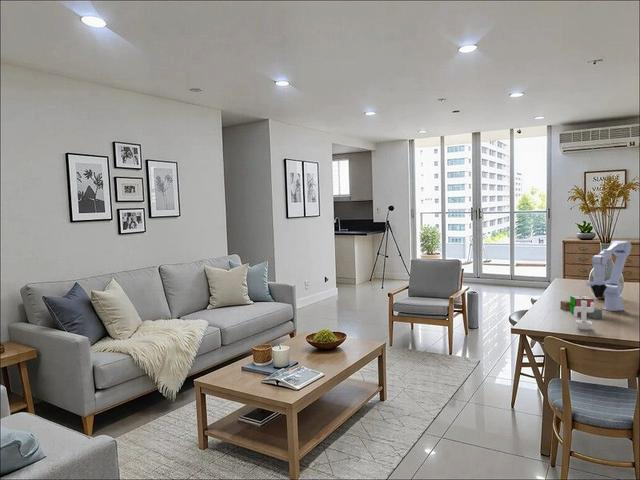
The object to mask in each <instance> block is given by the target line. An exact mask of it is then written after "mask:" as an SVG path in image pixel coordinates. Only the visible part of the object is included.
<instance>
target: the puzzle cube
mask: <svg viewBox="0 0 640 480" xmlns="http://www.w3.org/2000/svg"><path fill="white" fill-rule="evenodd" d="M569 298H570V299H569V301H570V310H569V312H571V313H572V314H573V315H574V307H581V301H587V307H590V306H591V302H594V301H595V300H594V298H592V297H590V296H588V295H570V297H569ZM594 303H595V302H594ZM577 316H581V312H577ZM586 316H588V312H587V315H586Z"/></svg>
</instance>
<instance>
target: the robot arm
mask: <svg viewBox="0 0 640 480" xmlns="http://www.w3.org/2000/svg"><path fill="white" fill-rule="evenodd" d="M631 251H632V243H631V241H629V240H628V241H627V240H612V241H611V242H610V246H609V247H608V248H606V249H605V248H604V249H602V250H601V251H600V252H599V253H598V254H595V255H593V256H592V258H591V264H592V268H593V281H589V282H586V286H587V287H591V289H592V291H593V294H594V297H595V298H596V299H597V298H598V299H599V298H603V296H604V307H601V310H606V311H609V312H615V311H625V309H624V298H623V296H622V293H623V284H622V282H621V281H620V280H621V276H622V273H623V271H624V268H625V267H624V266H625V265H626V264H625V263H626V261H627V257H629V256H630V255H631ZM613 255H614V256H616V259H615V262H614V265H613V268H612V271H611V274H610V277H609V279H607V280H605V275H606V274H605V268H606V267H605V265H607V262H608V261H609V259H610V258H611V257H612V256H613Z"/></svg>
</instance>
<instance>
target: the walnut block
mask: <svg viewBox="0 0 640 480" xmlns="http://www.w3.org/2000/svg"><path fill="white" fill-rule="evenodd" d="M560 309H561V310H563V311H570V300H560Z"/></svg>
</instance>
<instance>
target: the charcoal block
mask: <svg viewBox="0 0 640 480" xmlns="http://www.w3.org/2000/svg"><path fill="white" fill-rule="evenodd" d="M587 317H588V318H590V319H591V318H592V319H593V320H595V319H602V318H603V309H602V308H601V309H600V308H597V307H594V312H592V313H590V312H588V315H587Z"/></svg>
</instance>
